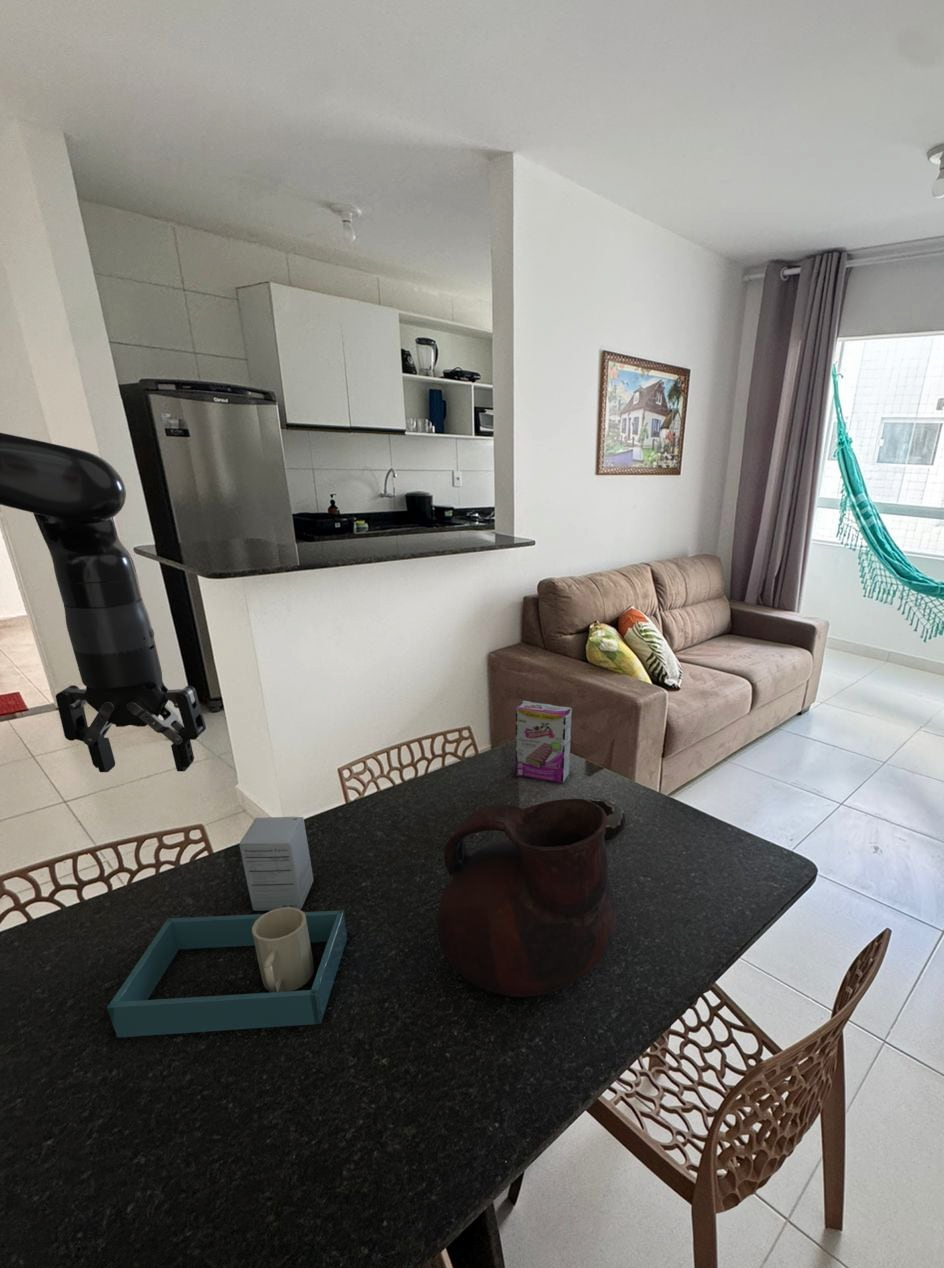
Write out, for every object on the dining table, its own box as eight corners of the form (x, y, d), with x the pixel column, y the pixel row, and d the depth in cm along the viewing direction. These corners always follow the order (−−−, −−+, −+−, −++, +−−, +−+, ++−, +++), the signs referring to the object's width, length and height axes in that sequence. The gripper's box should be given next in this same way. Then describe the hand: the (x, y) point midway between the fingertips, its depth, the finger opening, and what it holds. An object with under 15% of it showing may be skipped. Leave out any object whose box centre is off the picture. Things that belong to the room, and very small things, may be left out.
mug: (271, 959, 93) (261, 908, 89) (319, 956, 94) (311, 906, 90) (248, 1012, 84) (236, 958, 81) (301, 1009, 85) (291, 955, 82)
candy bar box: (514, 777, 144) (514, 708, 138) (522, 766, 149) (522, 699, 142) (563, 785, 142) (565, 715, 135) (570, 774, 147) (572, 706, 140)
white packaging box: (267, 882, 108) (255, 816, 103) (315, 880, 109) (305, 815, 104) (251, 912, 101) (236, 843, 96) (301, 910, 102) (290, 842, 97)
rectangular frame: (117, 1037, 80) (106, 1007, 78) (175, 945, 94) (167, 918, 92) (320, 1024, 83) (316, 994, 81) (347, 937, 98) (344, 910, 96)
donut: (554, 818, 130) (554, 801, 128) (606, 806, 135) (608, 789, 133) (581, 850, 120) (581, 831, 119) (636, 835, 126) (637, 817, 124)
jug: (502, 881, 111) (501, 748, 101) (640, 932, 101) (653, 791, 91) (400, 981, 90) (385, 826, 80) (560, 1057, 81) (566, 892, 71)
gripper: (20, 650, 69) (63, 785, 76) (167, 651, 71) (196, 783, 78) (64, 630, 76) (99, 755, 83) (196, 631, 78) (221, 754, 85)
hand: (146, 769), depth 80 cm, fingers open, 8 cm apart
